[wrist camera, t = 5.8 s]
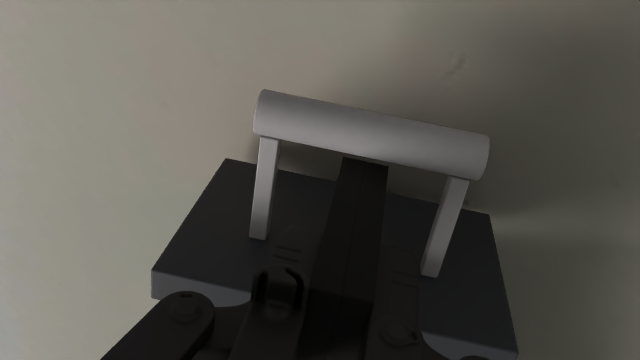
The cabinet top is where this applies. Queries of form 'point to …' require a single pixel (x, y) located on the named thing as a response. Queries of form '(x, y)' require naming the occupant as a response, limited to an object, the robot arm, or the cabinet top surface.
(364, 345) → the robot arm
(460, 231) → the drawer
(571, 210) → the cabinet top surface
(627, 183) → the cabinet top surface
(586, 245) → the cabinet top surface
